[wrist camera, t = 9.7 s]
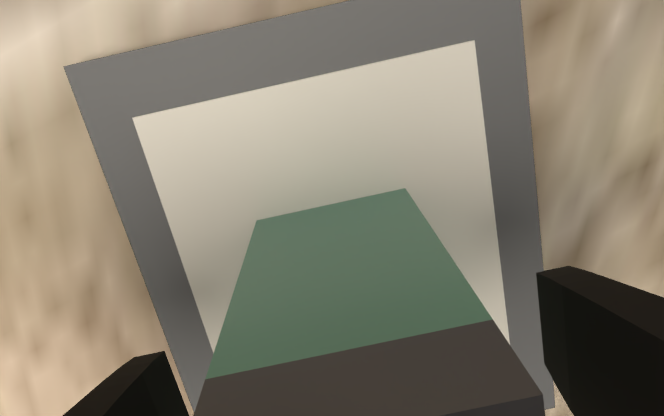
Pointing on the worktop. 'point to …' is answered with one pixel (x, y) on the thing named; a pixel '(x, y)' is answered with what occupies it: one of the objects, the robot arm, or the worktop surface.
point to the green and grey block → (360, 323)
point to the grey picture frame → (322, 150)
